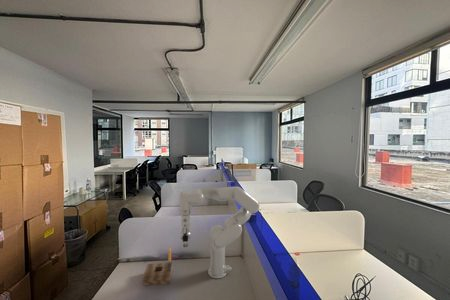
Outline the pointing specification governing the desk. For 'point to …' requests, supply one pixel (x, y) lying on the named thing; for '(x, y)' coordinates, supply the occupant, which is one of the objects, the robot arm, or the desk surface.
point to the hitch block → (158, 274)
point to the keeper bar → (169, 255)
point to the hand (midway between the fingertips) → (185, 238)
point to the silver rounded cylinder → (186, 244)
